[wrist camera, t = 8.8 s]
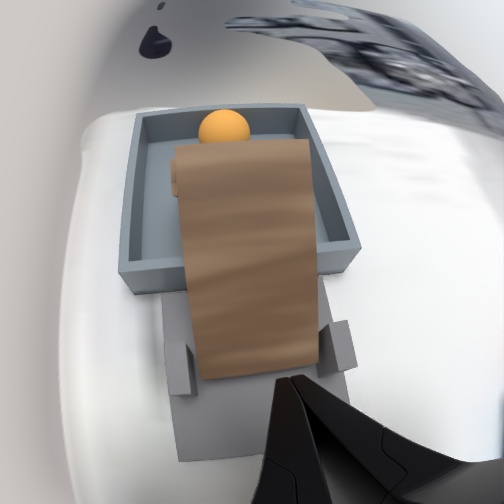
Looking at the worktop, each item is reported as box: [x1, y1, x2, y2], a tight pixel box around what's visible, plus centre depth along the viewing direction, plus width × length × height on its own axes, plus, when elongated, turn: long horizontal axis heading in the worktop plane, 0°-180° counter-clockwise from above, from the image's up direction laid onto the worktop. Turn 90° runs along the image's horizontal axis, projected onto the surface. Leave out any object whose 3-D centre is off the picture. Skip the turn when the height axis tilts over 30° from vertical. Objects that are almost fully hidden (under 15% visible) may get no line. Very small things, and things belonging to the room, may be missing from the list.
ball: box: [198, 109, 250, 144], centre depth 23 cm, size 4×4×4 cm
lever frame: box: [162, 277, 358, 462], centre depth 15 cm, size 10×10×4 cm
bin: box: [118, 103, 362, 295], centre depth 22 cm, size 14×14×4 cm
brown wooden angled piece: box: [170, 139, 319, 380], centre depth 18 cm, size 8×7×11 cm
